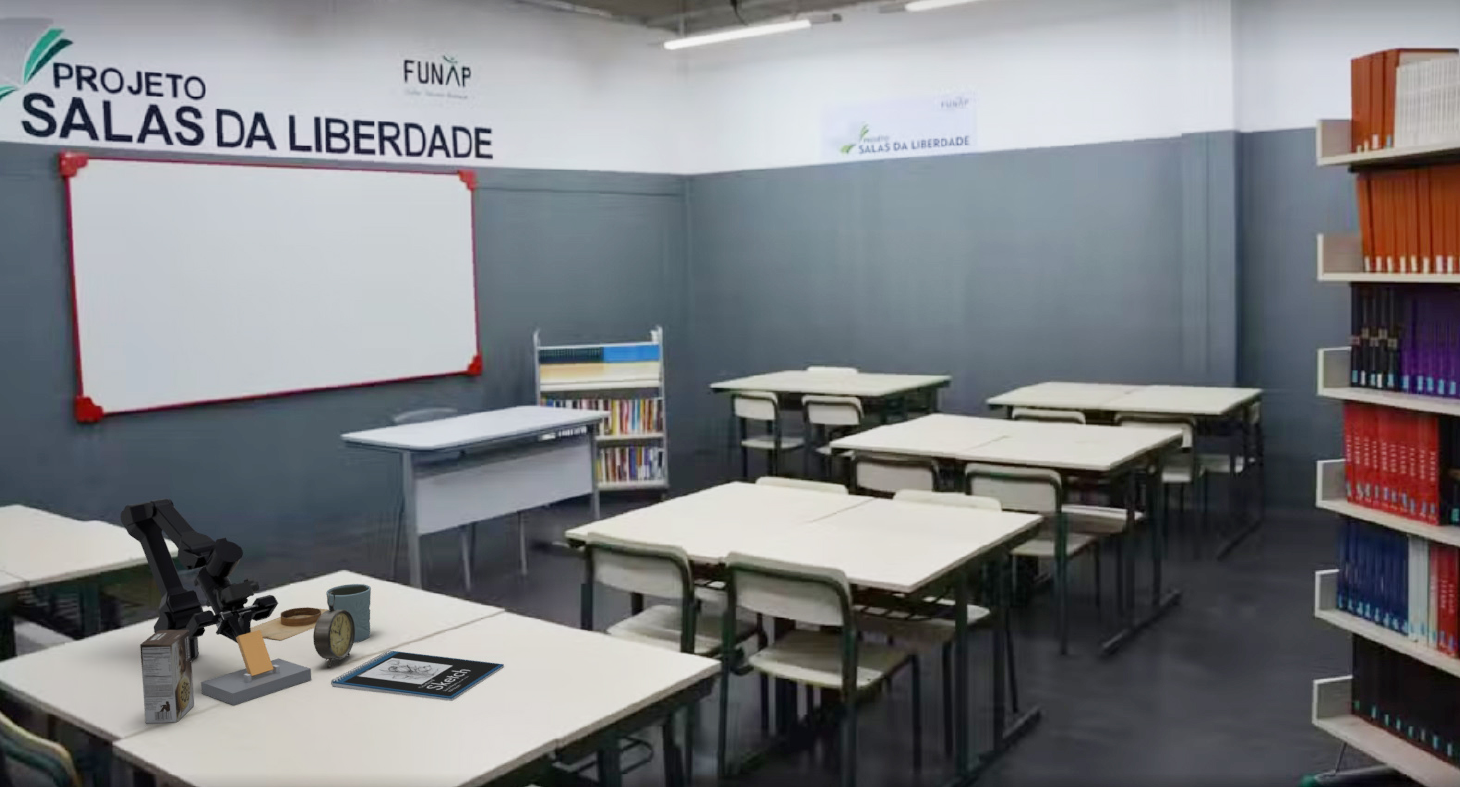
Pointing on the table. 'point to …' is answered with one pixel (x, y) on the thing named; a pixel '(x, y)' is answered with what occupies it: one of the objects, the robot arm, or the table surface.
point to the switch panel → (255, 682)
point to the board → (289, 623)
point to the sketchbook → (417, 675)
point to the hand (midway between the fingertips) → (249, 647)
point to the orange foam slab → (254, 653)
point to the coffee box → (167, 676)
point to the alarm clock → (334, 633)
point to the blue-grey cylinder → (354, 606)
